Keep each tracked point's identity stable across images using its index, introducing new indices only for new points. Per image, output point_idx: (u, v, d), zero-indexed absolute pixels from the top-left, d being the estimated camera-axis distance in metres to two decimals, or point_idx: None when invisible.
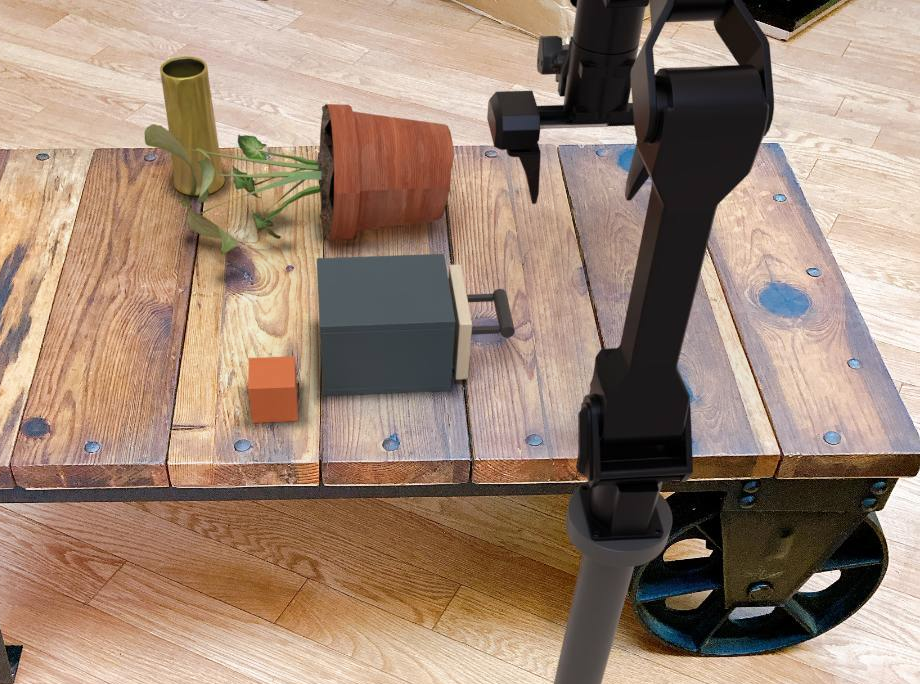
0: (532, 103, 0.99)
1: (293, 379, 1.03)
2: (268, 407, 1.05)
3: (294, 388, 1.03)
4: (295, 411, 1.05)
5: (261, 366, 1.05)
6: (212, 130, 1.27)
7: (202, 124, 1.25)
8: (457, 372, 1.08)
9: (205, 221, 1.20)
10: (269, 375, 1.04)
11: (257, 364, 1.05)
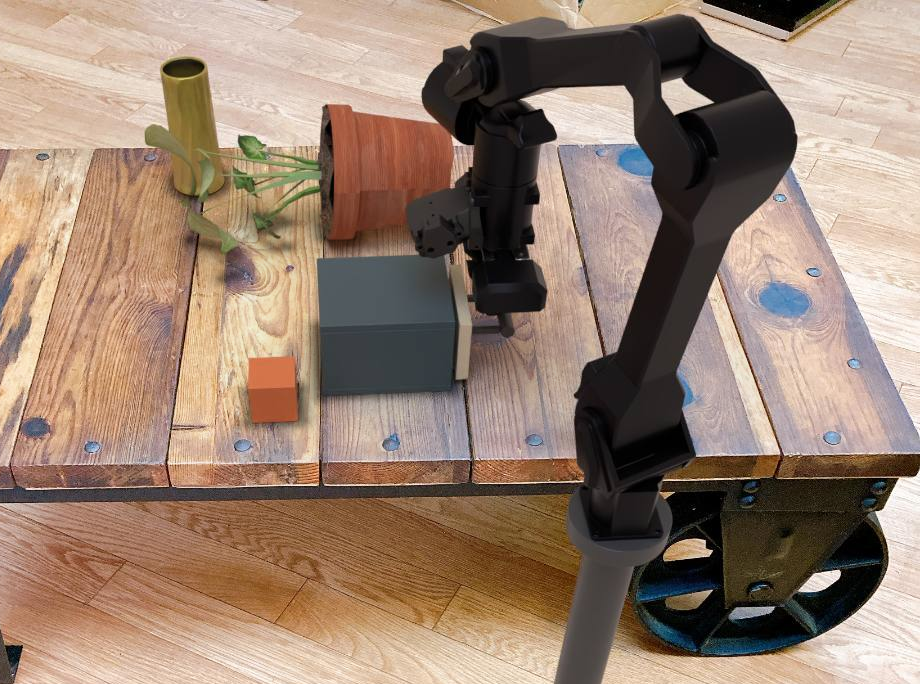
0: (510, 262, 0.97)
1: (293, 379, 1.03)
2: (268, 407, 1.05)
3: (294, 388, 1.03)
4: (295, 411, 1.05)
5: (261, 366, 1.05)
6: (212, 130, 1.27)
7: (202, 124, 1.25)
8: (457, 372, 1.08)
9: (205, 221, 1.20)
10: (269, 375, 1.04)
11: (257, 364, 1.05)
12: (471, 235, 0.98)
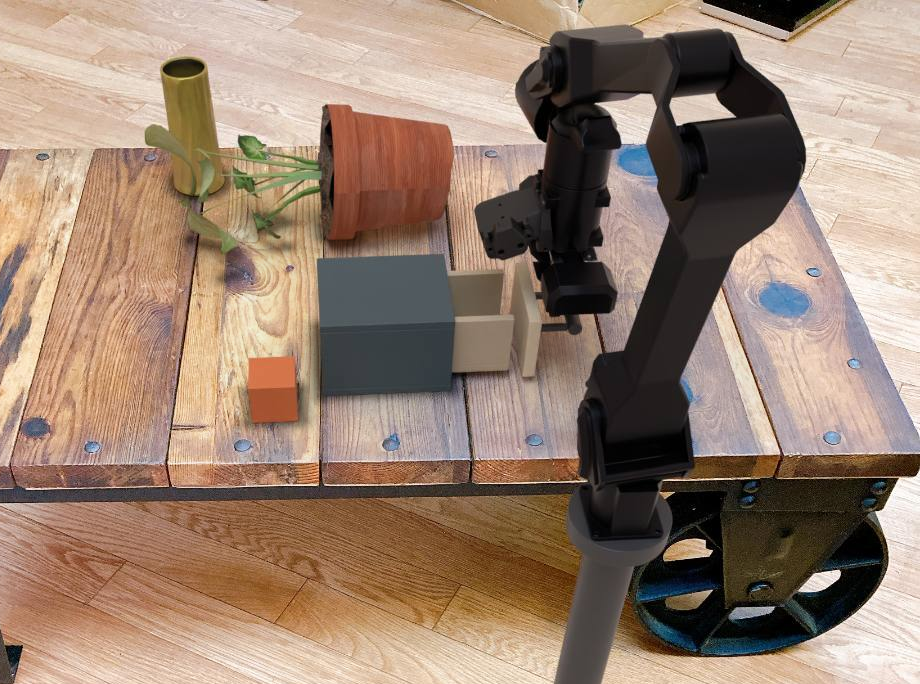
0: (580, 264, 0.98)
1: (293, 379, 1.03)
2: (268, 407, 1.05)
3: (294, 388, 1.03)
4: (295, 411, 1.05)
5: (261, 366, 1.05)
6: (212, 130, 1.27)
7: (202, 124, 1.25)
8: (524, 369, 1.08)
9: (205, 221, 1.20)
10: (269, 375, 1.04)
11: (257, 364, 1.05)
12: (541, 237, 0.99)
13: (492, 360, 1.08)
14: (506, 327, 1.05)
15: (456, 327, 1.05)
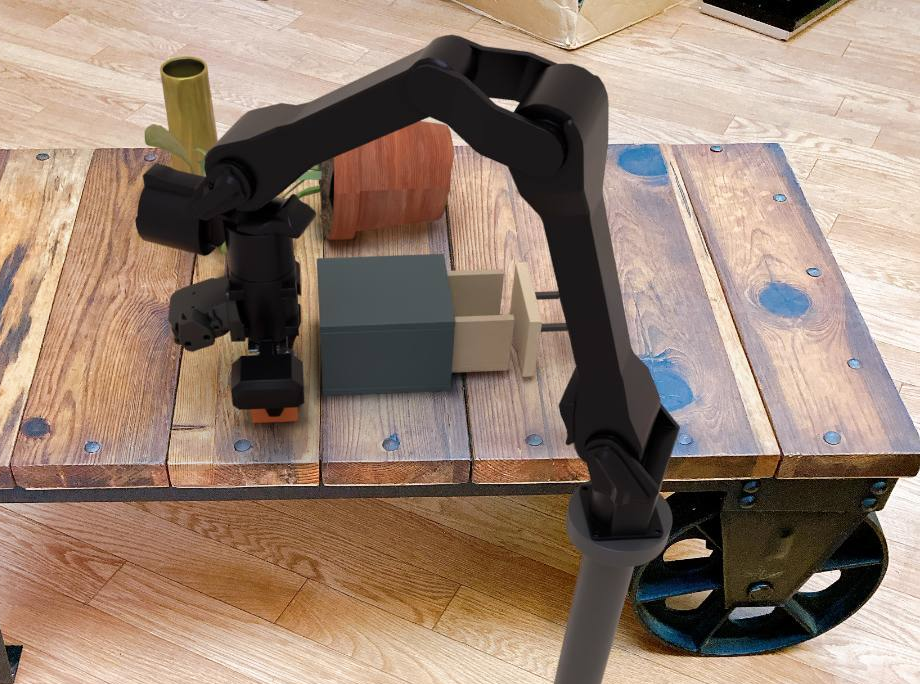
0: (268, 357, 0.95)
1: None
2: None
3: None
4: (295, 411, 1.05)
5: None
6: (212, 130, 1.27)
7: (202, 124, 1.25)
8: (524, 369, 1.08)
9: None
10: None
11: None
12: (231, 328, 0.96)
13: (492, 360, 1.08)
14: (506, 327, 1.05)
15: (456, 327, 1.05)
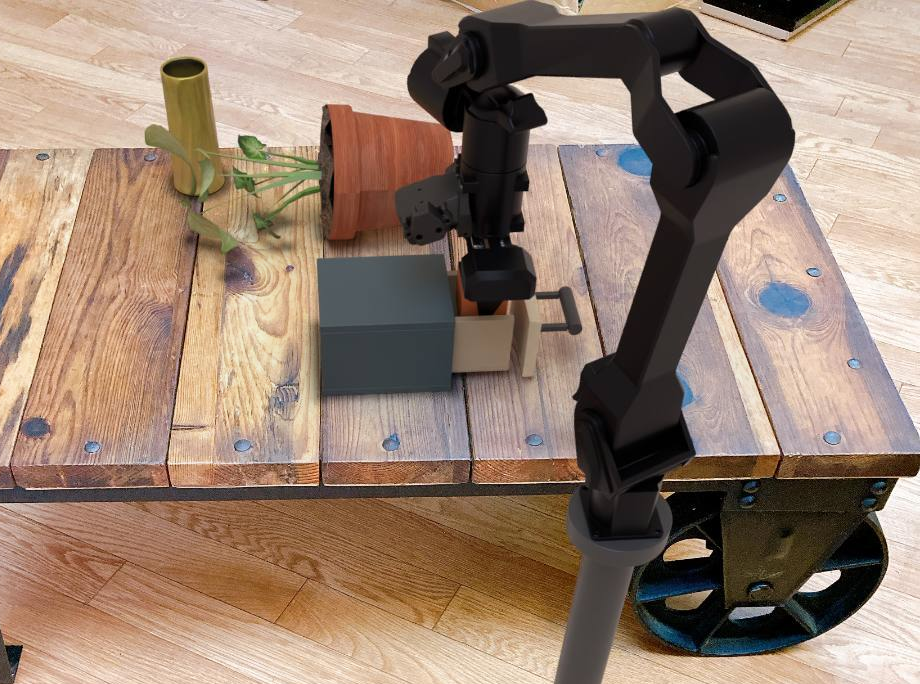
0: (499, 250, 0.96)
1: None
2: None
3: None
4: (504, 313, 1.06)
5: None
6: (212, 130, 1.27)
7: (202, 124, 1.25)
8: (524, 369, 1.08)
9: (205, 221, 1.20)
10: None
11: None
12: (460, 222, 0.97)
13: (492, 360, 1.08)
14: (506, 327, 1.05)
15: (456, 327, 1.05)
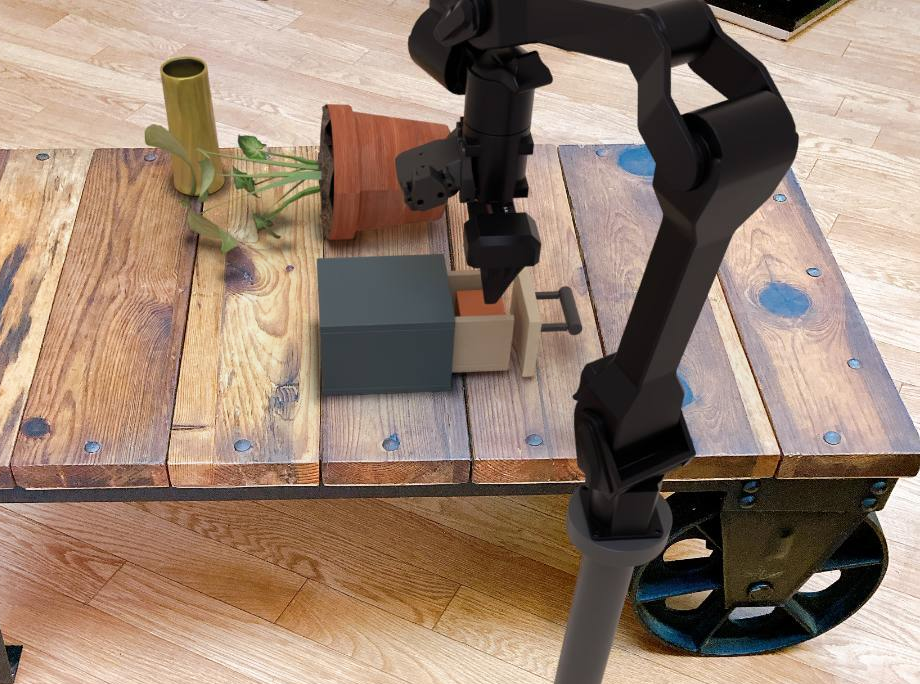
0: (502, 215, 0.94)
1: (503, 310, 1.07)
2: None
3: None
4: None
5: (469, 298, 1.08)
6: (212, 130, 1.27)
7: (202, 124, 1.25)
8: (524, 369, 1.08)
9: (205, 221, 1.20)
10: (478, 307, 1.07)
11: (466, 296, 1.08)
12: (462, 187, 0.95)
13: (492, 360, 1.08)
14: (506, 327, 1.05)
15: (456, 327, 1.05)
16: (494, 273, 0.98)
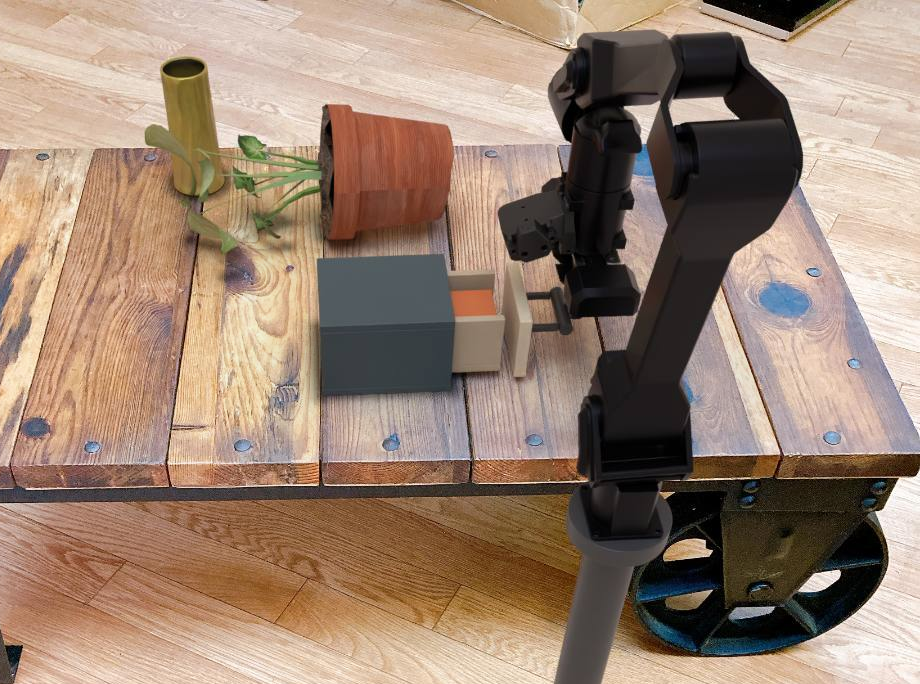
0: (603, 267, 0.98)
1: (494, 310, 1.07)
2: None
3: None
4: None
5: (460, 298, 1.08)
6: (212, 130, 1.27)
7: (202, 124, 1.25)
8: (515, 370, 1.08)
9: (205, 221, 1.20)
10: (469, 307, 1.07)
11: (457, 297, 1.08)
12: (564, 239, 0.99)
13: (483, 360, 1.08)
14: (497, 327, 1.05)
15: None
16: None
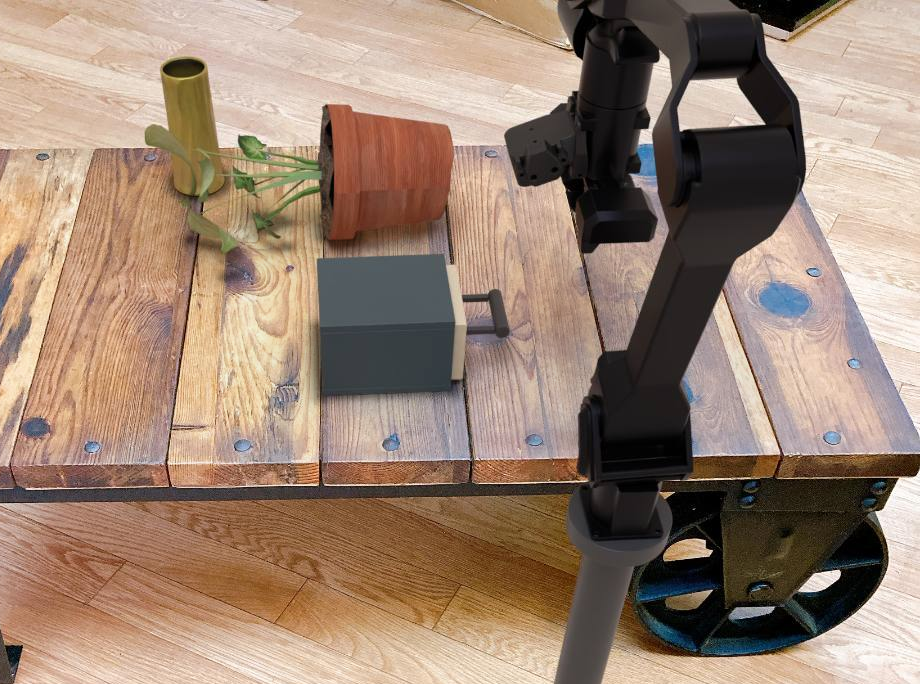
0: (617, 190, 0.92)
1: None
2: None
3: None
4: None
5: None
6: (212, 130, 1.27)
7: (202, 124, 1.25)
8: (452, 372, 1.08)
9: (205, 221, 1.20)
10: None
11: None
12: (575, 162, 0.93)
13: None
14: None
15: None
16: None
